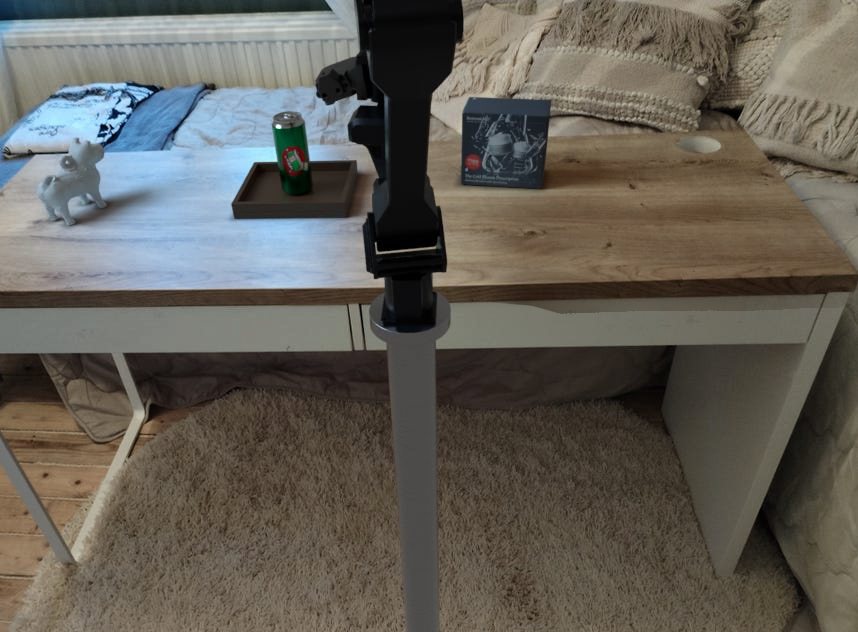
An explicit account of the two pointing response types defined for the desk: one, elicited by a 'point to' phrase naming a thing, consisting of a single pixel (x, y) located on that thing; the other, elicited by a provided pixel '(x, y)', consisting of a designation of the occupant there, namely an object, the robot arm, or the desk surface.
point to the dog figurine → (73, 180)
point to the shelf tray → (270, 201)
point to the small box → (504, 142)
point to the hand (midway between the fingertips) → (390, 162)
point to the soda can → (292, 152)
